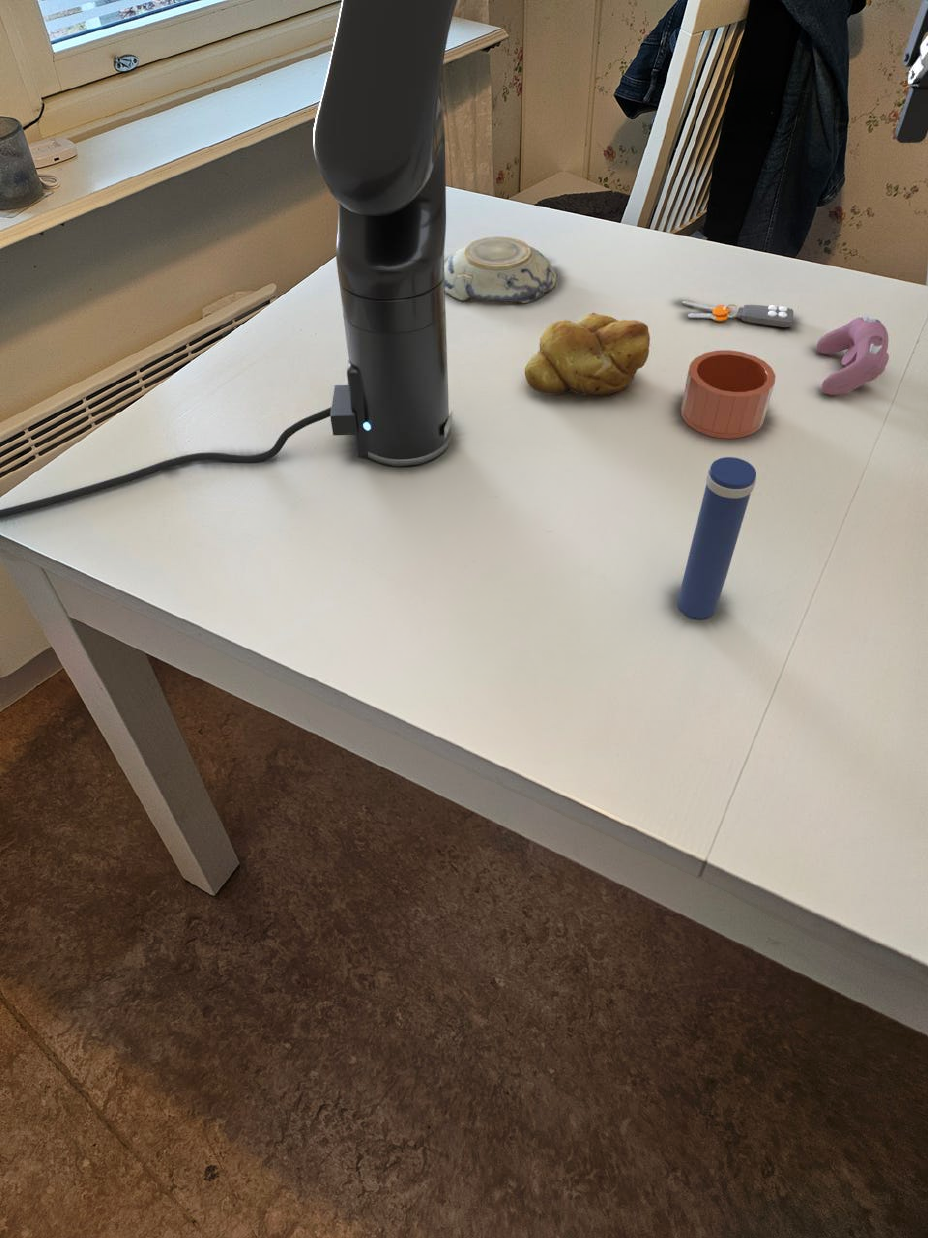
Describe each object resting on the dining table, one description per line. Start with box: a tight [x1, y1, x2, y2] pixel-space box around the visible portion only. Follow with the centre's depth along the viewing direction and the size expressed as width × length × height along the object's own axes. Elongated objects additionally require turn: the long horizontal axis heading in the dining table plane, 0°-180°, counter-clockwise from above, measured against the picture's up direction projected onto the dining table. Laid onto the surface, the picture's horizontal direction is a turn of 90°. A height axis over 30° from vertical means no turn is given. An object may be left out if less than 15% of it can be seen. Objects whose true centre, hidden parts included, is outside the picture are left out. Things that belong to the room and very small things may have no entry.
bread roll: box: [524, 312, 651, 396], centre depth 92 cm, size 13×10×8 cm
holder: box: [680, 349, 776, 440], centre depth 89 cm, size 8×8×5 cm
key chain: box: [681, 300, 794, 328], centre depth 103 cm, size 13×4×2 cm, turn 76°
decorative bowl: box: [444, 236, 557, 304], centre depth 110 cm, size 15×4×15 cm
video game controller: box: [815, 314, 890, 396], centre depth 93 cm, size 10×5×7 cm, turn 169°
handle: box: [677, 456, 757, 620], centre depth 67 cm, size 3×3×14 cm
